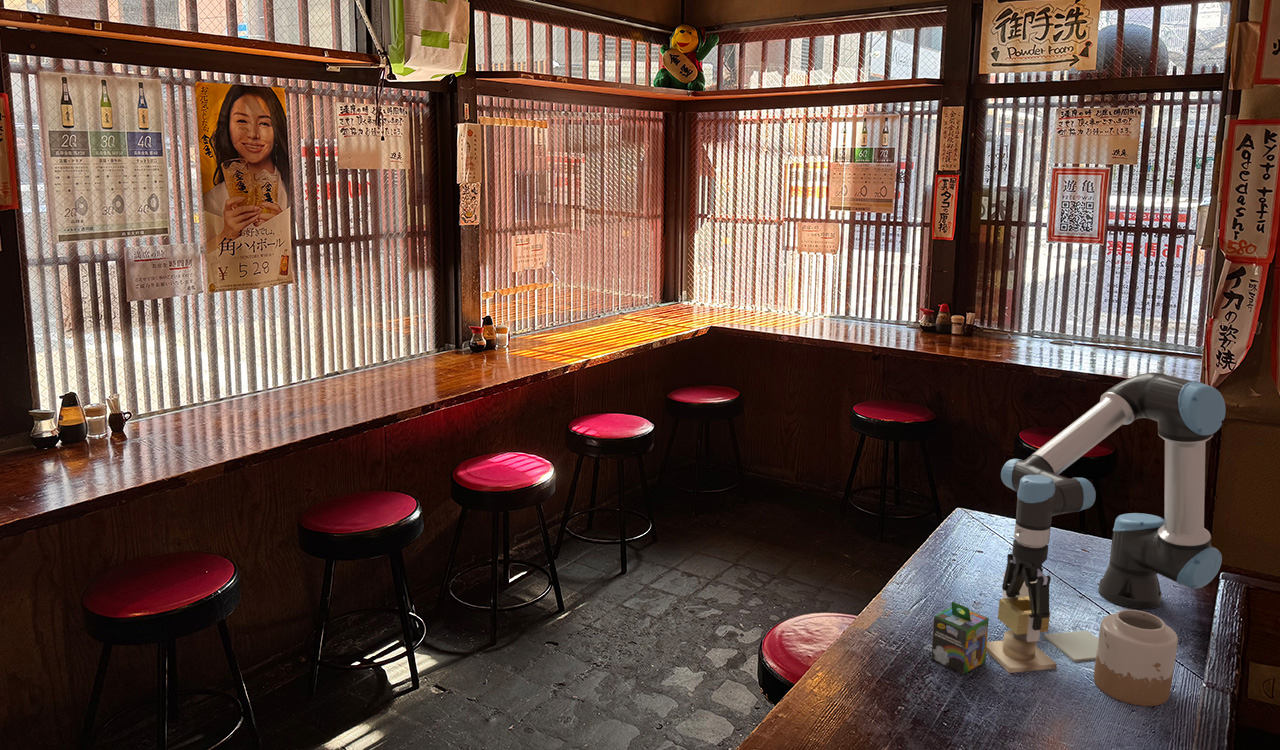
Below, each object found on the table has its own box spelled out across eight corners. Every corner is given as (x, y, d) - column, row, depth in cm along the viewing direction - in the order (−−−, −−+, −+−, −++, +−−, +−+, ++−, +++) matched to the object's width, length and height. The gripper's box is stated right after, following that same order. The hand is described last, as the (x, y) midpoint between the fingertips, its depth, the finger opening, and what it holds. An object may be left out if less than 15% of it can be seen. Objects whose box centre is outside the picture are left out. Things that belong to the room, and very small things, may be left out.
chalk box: (986, 663, 220) (992, 605, 216) (963, 675, 214) (969, 616, 211) (952, 646, 227) (957, 590, 224) (929, 658, 221) (934, 601, 218)
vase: (1081, 668, 218) (1090, 602, 214) (1148, 670, 217) (1158, 604, 214) (1111, 706, 203) (1121, 636, 199) (1183, 708, 202) (1194, 637, 199)
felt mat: (1087, 632, 234) (1087, 630, 234) (1119, 657, 223) (1119, 655, 223) (1043, 636, 232) (1044, 634, 232) (1074, 661, 221) (1074, 659, 221)
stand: (1026, 642, 229) (1030, 607, 227) (1056, 668, 218) (1060, 631, 216) (981, 646, 227) (985, 610, 225) (1009, 673, 216) (1013, 635, 213)
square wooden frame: (1028, 615, 225) (1030, 596, 224) (1048, 631, 217) (1050, 611, 216) (997, 618, 224) (999, 598, 222) (1016, 634, 216) (1018, 614, 215)
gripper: (991, 525, 225) (983, 612, 230) (1043, 562, 205) (1033, 655, 210) (1020, 523, 226) (1011, 609, 232) (1073, 559, 206) (1063, 652, 212)
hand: (1021, 631), depth 221 cm, fingers closed on square wooden frame, 8 cm apart
